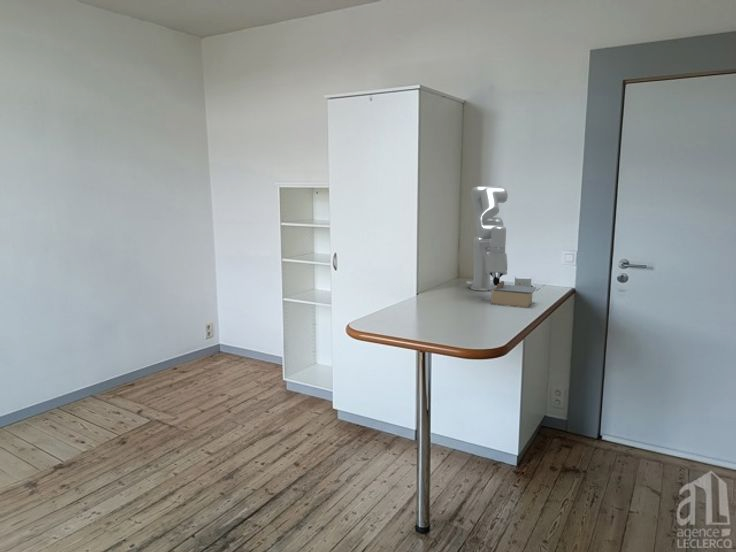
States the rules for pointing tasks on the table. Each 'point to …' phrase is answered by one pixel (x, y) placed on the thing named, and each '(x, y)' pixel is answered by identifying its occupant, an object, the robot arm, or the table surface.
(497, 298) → the tray
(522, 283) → the small box
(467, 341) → the table surface
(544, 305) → the table surface
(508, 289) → the lid
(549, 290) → the table surface
